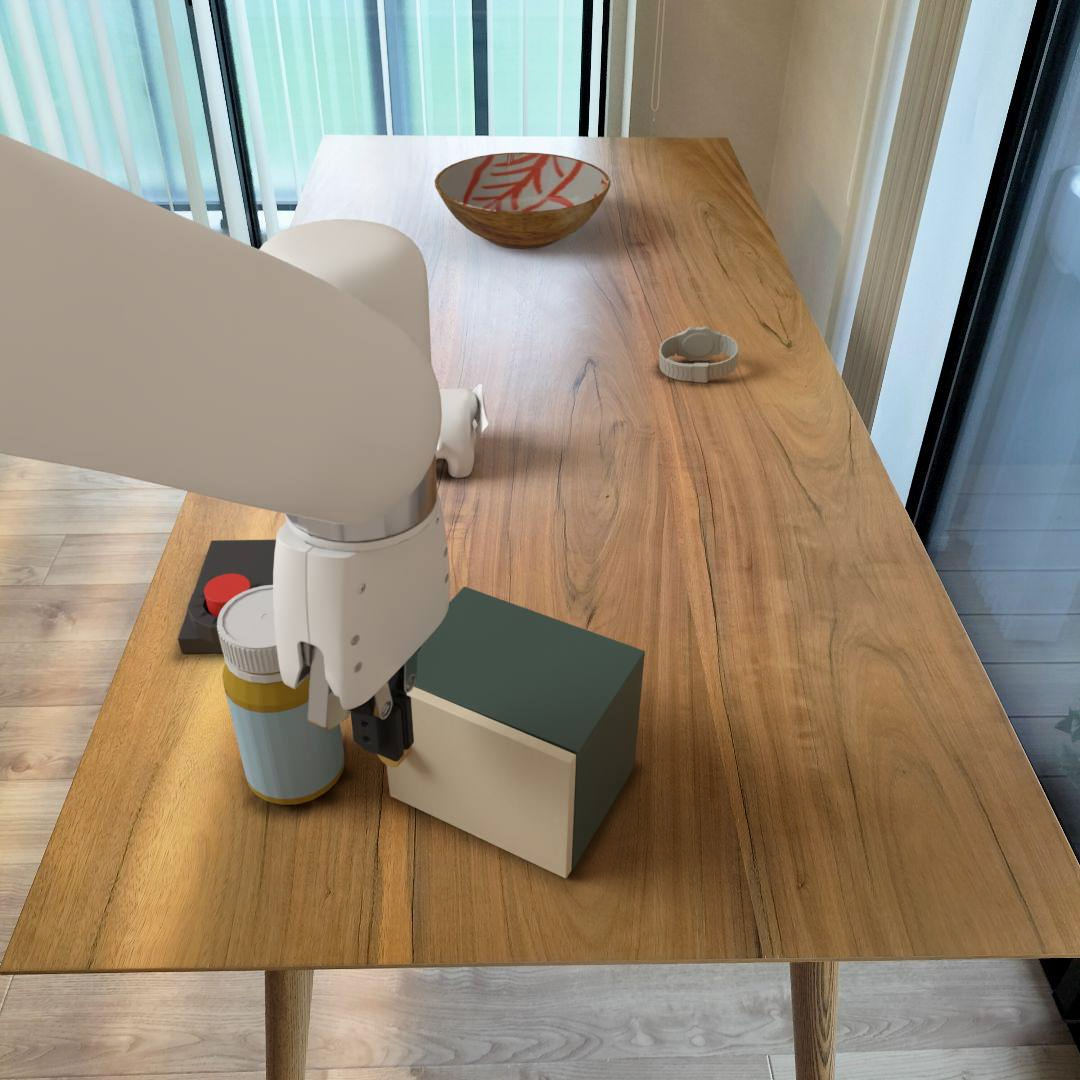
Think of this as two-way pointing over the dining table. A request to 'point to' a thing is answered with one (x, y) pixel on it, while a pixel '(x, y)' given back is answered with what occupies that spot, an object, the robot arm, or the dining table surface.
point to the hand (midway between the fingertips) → (384, 744)
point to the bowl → (522, 196)
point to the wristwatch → (698, 354)
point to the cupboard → (543, 690)
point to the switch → (221, 559)
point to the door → (488, 781)
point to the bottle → (272, 708)
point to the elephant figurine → (460, 428)
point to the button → (224, 591)
